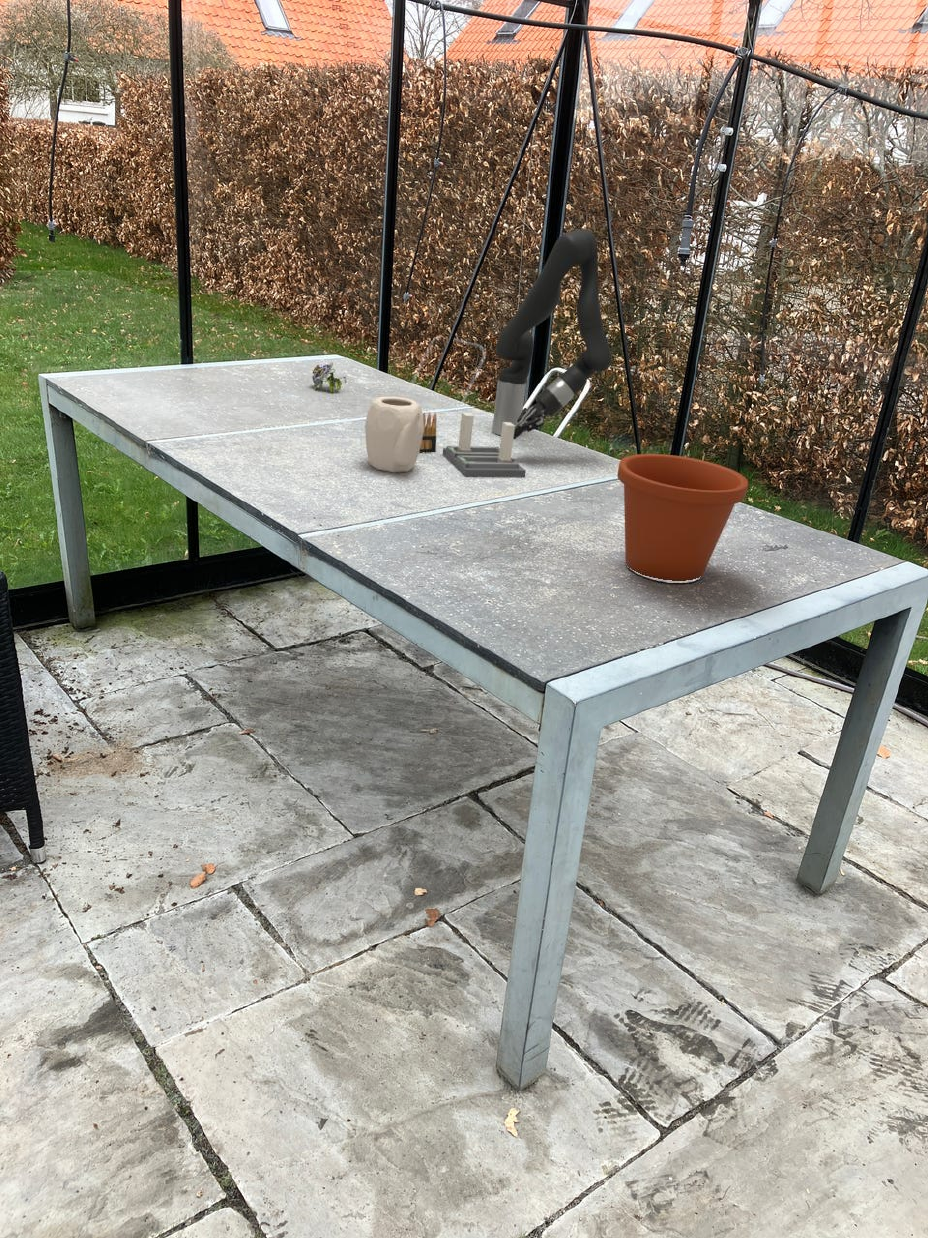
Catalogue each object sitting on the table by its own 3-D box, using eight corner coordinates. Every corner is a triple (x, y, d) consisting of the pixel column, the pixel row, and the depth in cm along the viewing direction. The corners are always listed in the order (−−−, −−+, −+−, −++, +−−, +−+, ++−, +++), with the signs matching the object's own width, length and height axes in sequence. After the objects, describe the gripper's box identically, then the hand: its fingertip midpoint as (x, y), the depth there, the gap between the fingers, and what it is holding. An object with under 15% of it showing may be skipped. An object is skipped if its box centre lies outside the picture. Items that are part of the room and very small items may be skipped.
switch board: (442, 454, 291) (443, 443, 290) (498, 455, 297) (499, 444, 295) (465, 476, 272) (466, 464, 271) (524, 477, 278) (526, 465, 277)
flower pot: (577, 561, 221) (593, 462, 212) (648, 539, 240) (666, 448, 230) (680, 605, 204) (703, 499, 194) (748, 578, 223) (772, 481, 213)
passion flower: (316, 404, 355) (303, 373, 355) (341, 397, 360) (329, 367, 360) (326, 393, 345) (313, 361, 345) (352, 386, 351) (340, 355, 350)
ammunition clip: (403, 453, 287) (406, 413, 282) (400, 451, 289) (403, 411, 284) (435, 452, 292) (439, 413, 287) (433, 450, 294) (436, 411, 289)
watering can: (388, 484, 258) (393, 414, 250) (349, 456, 279) (353, 390, 271) (440, 481, 265) (446, 413, 258) (398, 454, 286) (403, 390, 278)
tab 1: (456, 450, 288) (460, 412, 283) (466, 450, 289) (470, 412, 284) (460, 454, 284) (465, 415, 279) (470, 454, 285) (474, 415, 280)
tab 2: (496, 460, 282) (501, 421, 277) (506, 461, 283) (511, 422, 278) (501, 465, 279) (506, 425, 274) (511, 465, 280) (516, 425, 275)
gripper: (539, 382, 292) (496, 422, 293) (556, 392, 280) (511, 433, 281) (553, 400, 295) (510, 439, 297) (570, 411, 284) (526, 451, 285)
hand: (511, 436), depth 289 cm, fingers closed
